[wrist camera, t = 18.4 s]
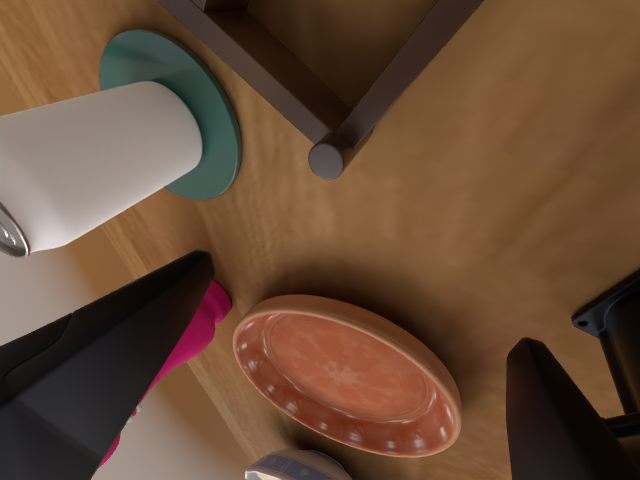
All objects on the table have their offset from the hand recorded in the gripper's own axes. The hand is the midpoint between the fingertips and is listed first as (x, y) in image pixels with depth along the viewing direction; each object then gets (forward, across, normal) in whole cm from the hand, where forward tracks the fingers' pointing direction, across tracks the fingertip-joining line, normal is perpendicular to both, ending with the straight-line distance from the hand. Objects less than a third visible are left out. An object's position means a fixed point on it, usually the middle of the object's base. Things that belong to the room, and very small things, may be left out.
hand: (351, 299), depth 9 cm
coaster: (+13, +16, +2) cm, 21 cm away
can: (+13, +16, +2) cm, 21 cm away
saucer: (+11, 0, +24) cm, 27 cm away
